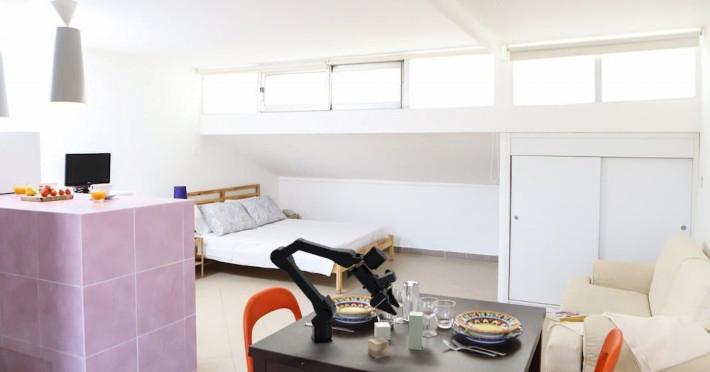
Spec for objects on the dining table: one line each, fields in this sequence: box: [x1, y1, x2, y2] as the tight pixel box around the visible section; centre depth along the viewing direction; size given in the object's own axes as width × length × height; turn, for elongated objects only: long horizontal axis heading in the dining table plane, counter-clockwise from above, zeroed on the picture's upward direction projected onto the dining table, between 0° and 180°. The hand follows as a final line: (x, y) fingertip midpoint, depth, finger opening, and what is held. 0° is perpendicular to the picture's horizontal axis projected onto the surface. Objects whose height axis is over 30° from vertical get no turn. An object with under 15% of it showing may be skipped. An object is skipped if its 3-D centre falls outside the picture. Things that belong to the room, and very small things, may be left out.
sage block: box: [408, 311, 424, 351], centre depth 195 cm, size 4×4×12 cm
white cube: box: [373, 321, 391, 341], centre depth 204 cm, size 5×5×5 cm
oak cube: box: [367, 337, 390, 360], centre depth 187 cm, size 5×5×5 cm
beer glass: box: [401, 281, 420, 323], centre depth 224 cm, size 7×7×15 cm
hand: (397, 310), depth 195 cm, fingers open, 9 cm apart
